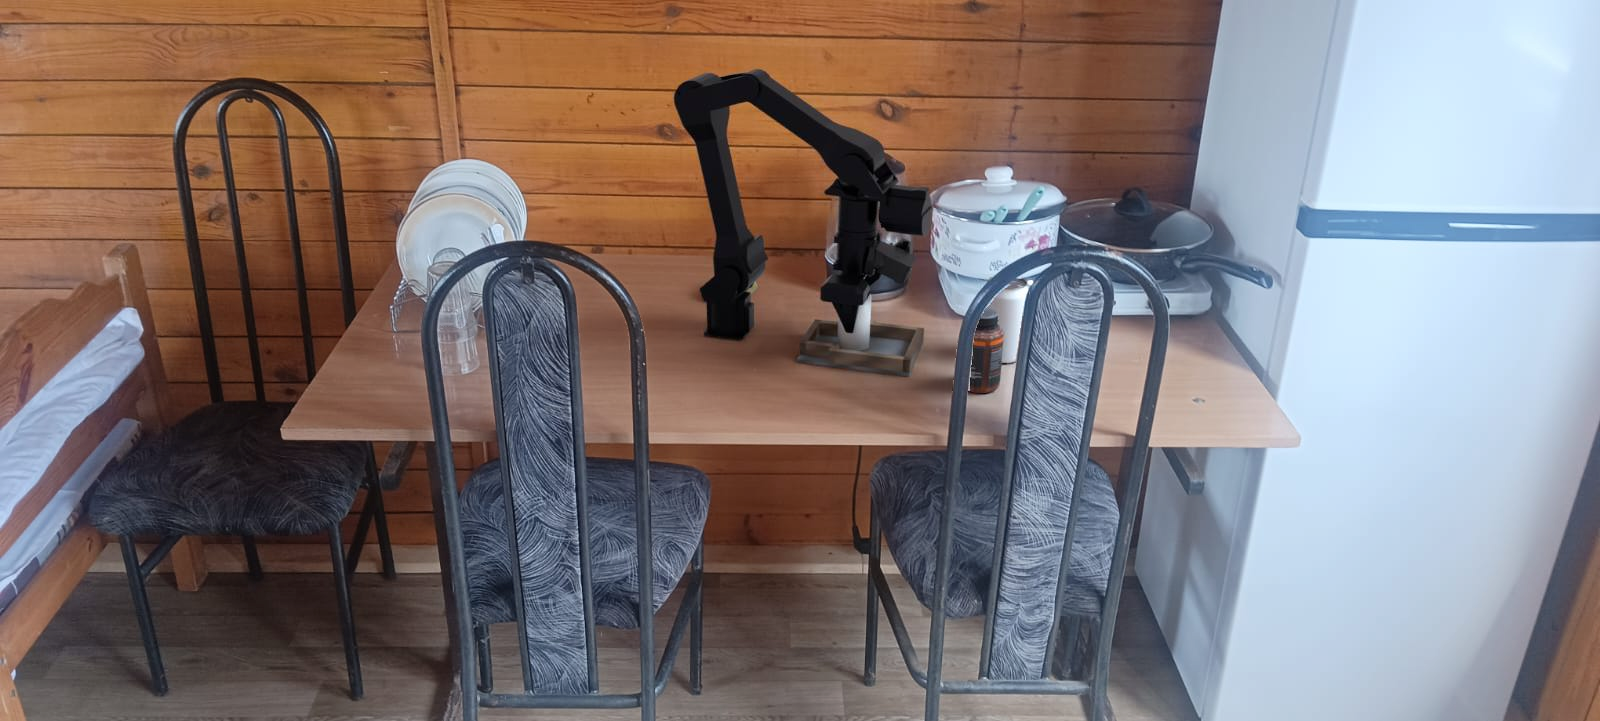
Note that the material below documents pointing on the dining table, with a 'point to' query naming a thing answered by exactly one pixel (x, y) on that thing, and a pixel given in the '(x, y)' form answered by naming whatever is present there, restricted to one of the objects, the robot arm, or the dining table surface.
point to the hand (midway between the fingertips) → (853, 326)
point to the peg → (857, 330)
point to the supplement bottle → (987, 353)
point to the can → (1010, 316)
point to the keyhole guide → (885, 354)
